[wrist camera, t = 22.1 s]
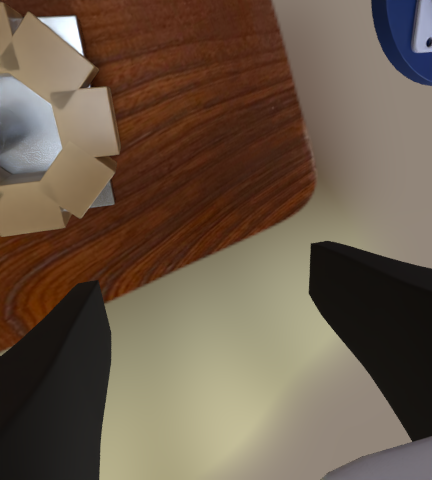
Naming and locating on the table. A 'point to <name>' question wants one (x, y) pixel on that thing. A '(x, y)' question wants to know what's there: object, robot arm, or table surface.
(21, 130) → the peg stand
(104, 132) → the ring
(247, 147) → the table surface
